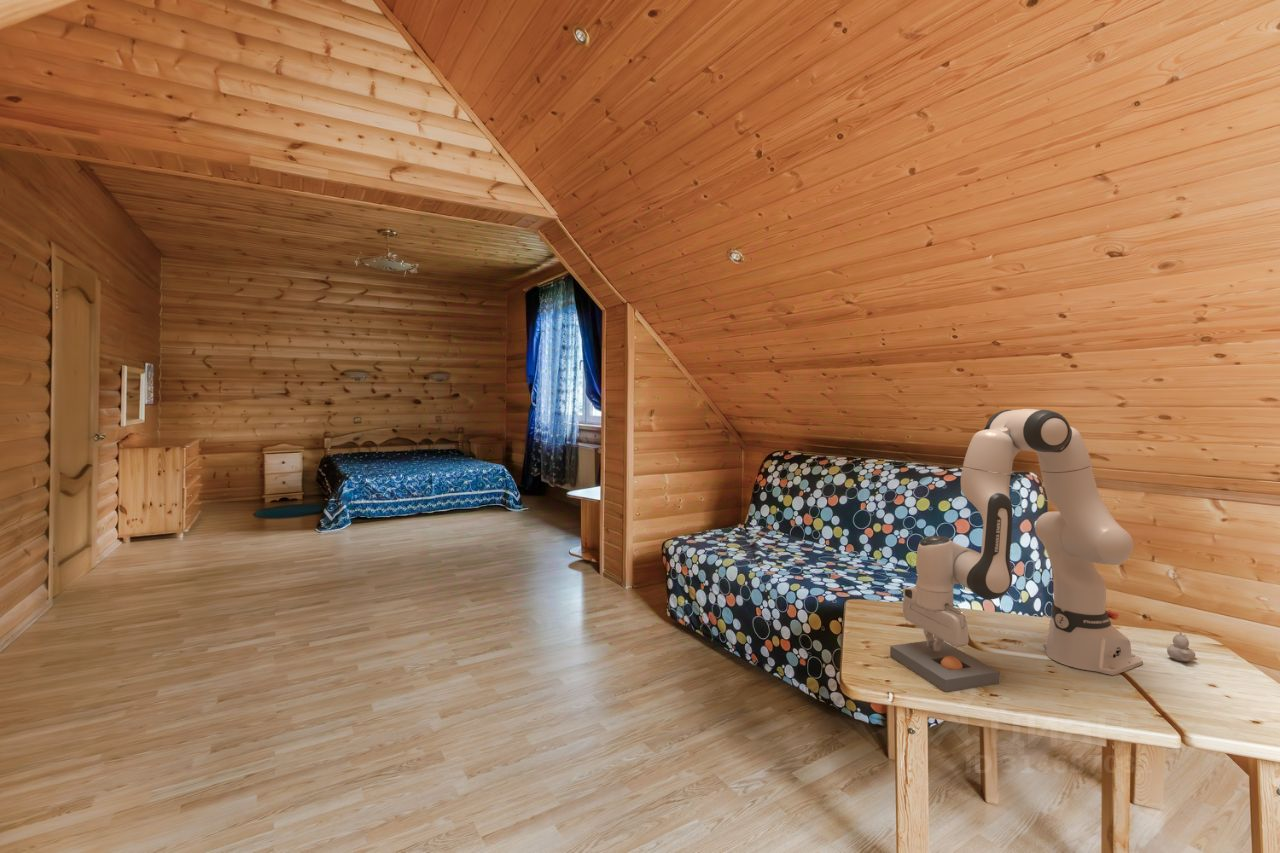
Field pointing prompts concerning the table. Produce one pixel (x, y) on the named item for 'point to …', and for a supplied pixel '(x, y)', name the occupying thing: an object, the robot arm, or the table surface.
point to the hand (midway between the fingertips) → (933, 649)
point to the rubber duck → (1180, 649)
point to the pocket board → (931, 669)
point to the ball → (951, 663)
